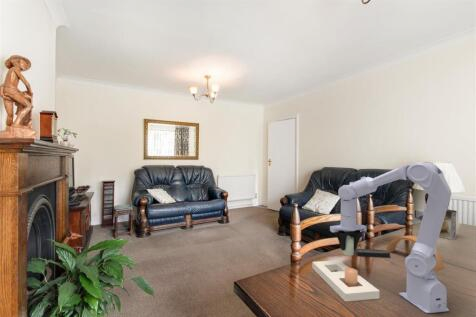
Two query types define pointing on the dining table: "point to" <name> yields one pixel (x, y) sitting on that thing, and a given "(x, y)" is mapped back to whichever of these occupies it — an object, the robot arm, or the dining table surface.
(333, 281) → the white flat block
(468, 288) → the dining table surface
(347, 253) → the peg sage
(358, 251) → the multiport hub
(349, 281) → the peg terracotta
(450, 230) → the coffee box
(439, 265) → the arch
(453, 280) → the dining table surface
